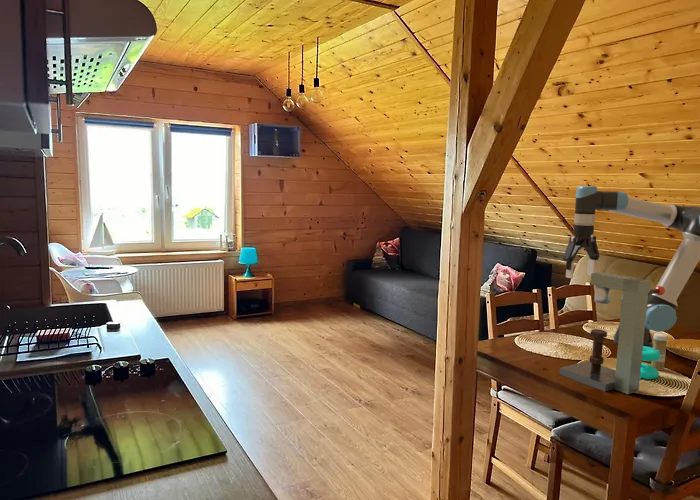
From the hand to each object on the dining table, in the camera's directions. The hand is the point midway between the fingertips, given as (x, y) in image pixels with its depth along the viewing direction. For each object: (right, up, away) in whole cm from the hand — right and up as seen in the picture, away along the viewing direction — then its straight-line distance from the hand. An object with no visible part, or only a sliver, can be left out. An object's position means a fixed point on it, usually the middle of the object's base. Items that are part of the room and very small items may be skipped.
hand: (580, 276), depth 215 cm
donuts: (+13, -35, -22) cm, 44 cm away
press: (-1, -35, -27) cm, 44 cm away
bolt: (-6, -33, -27) cm, 43 cm away
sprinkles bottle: (+23, -35, -14) cm, 44 cm away
